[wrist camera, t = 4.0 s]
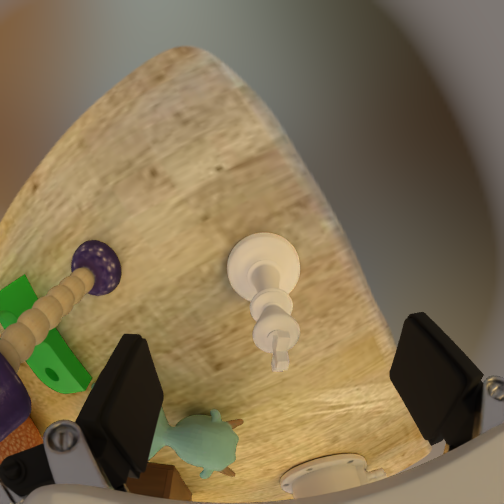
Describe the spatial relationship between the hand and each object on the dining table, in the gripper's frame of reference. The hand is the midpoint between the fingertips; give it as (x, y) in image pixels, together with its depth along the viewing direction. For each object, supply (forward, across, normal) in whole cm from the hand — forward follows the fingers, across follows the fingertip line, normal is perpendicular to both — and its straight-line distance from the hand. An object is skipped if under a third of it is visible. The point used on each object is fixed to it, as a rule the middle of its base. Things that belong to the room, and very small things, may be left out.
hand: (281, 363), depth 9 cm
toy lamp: (+11, +12, 0) cm, 16 cm away
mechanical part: (+10, +22, +7) cm, 25 cm away
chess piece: (+10, 0, 0) cm, 11 cm away
